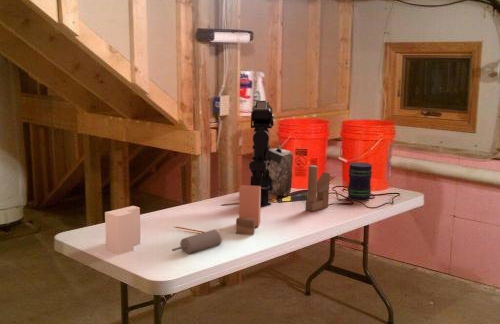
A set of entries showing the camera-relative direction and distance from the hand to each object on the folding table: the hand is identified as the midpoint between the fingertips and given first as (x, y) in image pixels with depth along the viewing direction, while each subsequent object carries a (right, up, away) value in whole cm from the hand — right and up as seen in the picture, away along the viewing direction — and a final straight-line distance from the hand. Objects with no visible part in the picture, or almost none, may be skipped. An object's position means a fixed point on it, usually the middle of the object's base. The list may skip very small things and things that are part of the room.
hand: (260, 183), depth 203 cm
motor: (-26, -18, -27) cm, 42 cm away
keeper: (-4, -15, -8) cm, 17 cm away
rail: (-4, -15, -9) cm, 18 cm away
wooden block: (+23, -11, +16) cm, 30 cm away
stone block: (+9, -6, +40) cm, 41 cm away
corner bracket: (-44, -19, -32) cm, 58 cm away
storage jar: (+44, -8, +35) cm, 56 cm away
